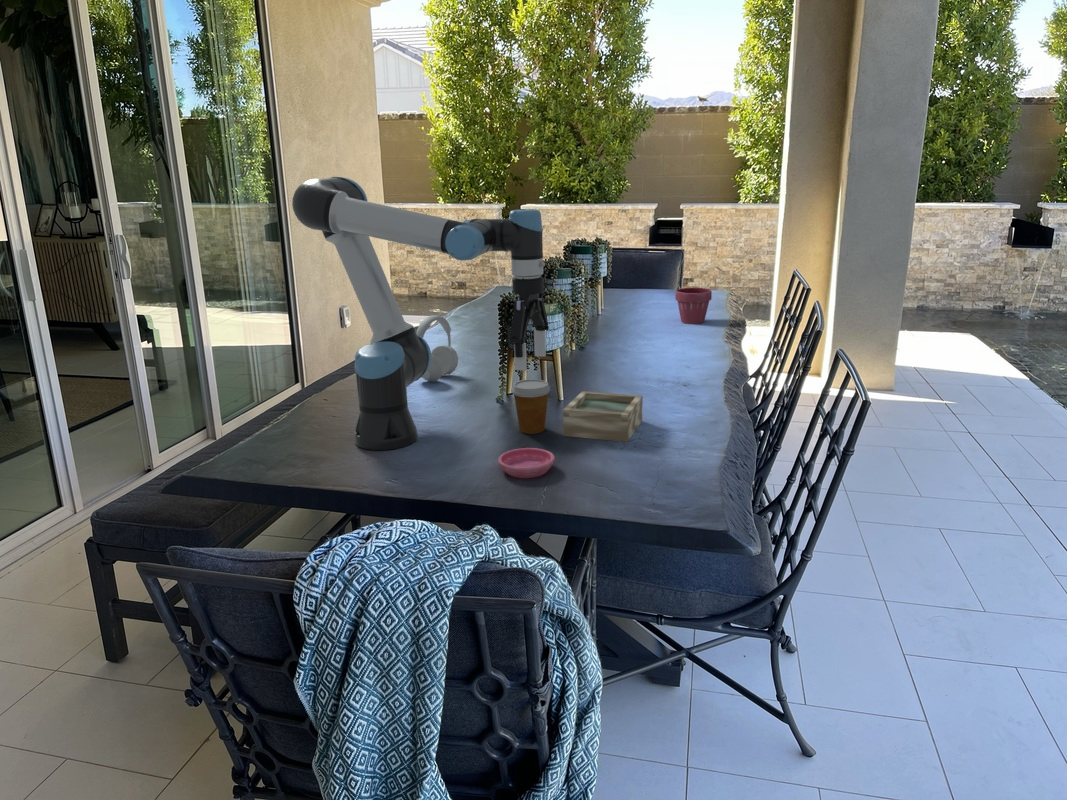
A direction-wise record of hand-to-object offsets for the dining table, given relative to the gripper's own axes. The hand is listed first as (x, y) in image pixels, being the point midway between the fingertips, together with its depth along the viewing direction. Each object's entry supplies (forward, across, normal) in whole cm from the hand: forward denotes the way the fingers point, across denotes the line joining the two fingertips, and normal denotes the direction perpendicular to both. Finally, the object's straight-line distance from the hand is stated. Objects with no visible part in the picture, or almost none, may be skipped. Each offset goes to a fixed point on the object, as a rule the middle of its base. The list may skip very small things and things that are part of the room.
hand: (530, 362), depth 196 cm
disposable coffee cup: (+18, 0, 0) cm, 18 cm away
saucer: (+18, -25, -8) cm, 32 cm away
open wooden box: (+18, +6, -17) cm, 25 cm away
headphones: (+17, +36, +45) cm, 60 cm away
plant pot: (+18, +139, -17) cm, 141 cm away
